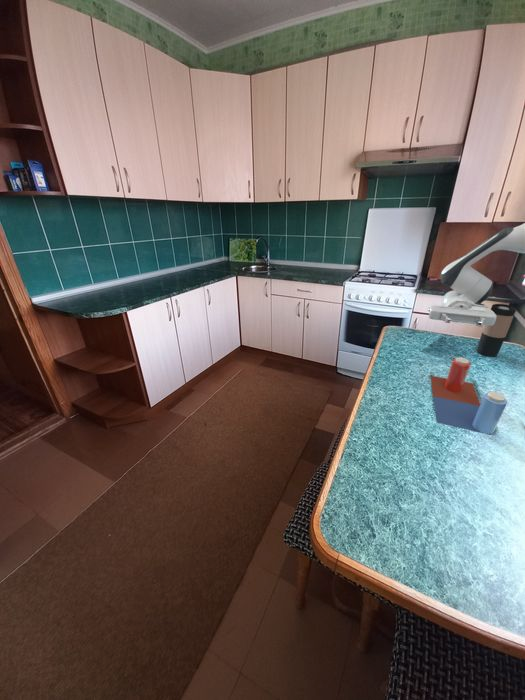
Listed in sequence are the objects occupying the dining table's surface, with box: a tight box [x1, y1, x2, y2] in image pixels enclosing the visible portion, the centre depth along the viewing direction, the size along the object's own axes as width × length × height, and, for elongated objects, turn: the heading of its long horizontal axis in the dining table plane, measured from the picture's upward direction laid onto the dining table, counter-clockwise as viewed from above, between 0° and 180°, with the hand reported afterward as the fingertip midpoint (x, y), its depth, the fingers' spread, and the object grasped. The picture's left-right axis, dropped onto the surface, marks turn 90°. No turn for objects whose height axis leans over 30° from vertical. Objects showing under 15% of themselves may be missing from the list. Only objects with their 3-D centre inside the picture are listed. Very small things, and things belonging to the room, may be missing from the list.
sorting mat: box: [430, 375, 492, 436], centre depth 91 cm, size 13×27×1 cm, turn 156°
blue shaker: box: [472, 391, 508, 435], centre depth 78 cm, size 5×5×11 cm
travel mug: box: [475, 303, 517, 358], centre depth 115 cm, size 8×8×20 cm
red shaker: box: [444, 356, 472, 392], centre depth 95 cm, size 5×5×11 cm
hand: (464, 322), depth 99 cm, fingers open, 8 cm apart
